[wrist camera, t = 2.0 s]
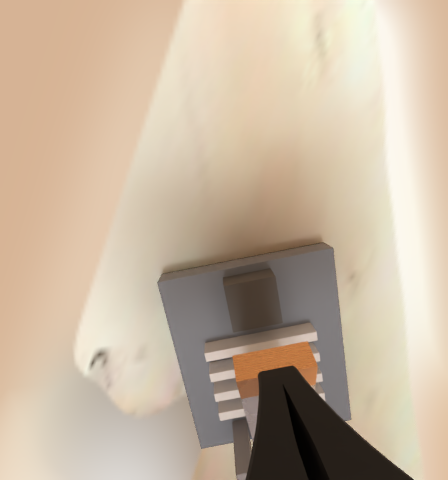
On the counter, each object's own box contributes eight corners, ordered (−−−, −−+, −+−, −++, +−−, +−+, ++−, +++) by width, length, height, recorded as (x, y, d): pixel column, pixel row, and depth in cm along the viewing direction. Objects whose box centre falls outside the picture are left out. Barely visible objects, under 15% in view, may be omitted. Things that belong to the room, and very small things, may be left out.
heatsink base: (341, 402, 21) (381, 471, 16) (202, 429, 21) (198, 506, 16) (323, 242, 18) (364, 265, 13) (162, 274, 18) (142, 308, 13)
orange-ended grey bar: (301, 439, 18) (306, 458, 17) (256, 448, 18) (260, 467, 17) (307, 341, 10) (318, 365, 10) (232, 355, 10) (236, 381, 10)
